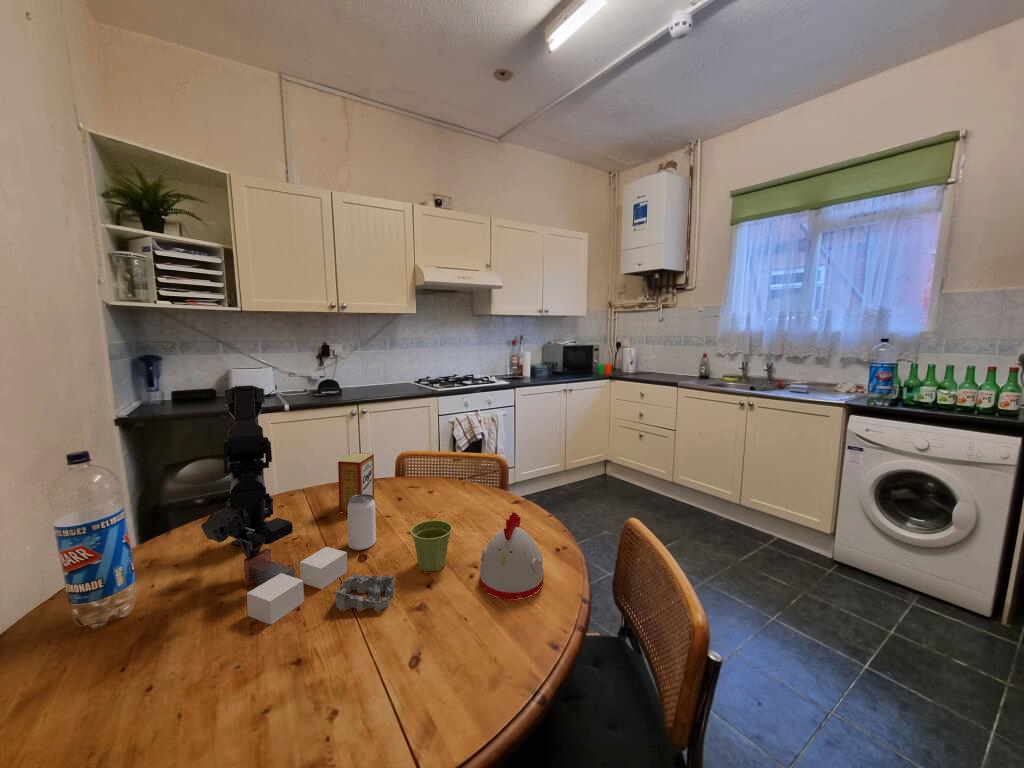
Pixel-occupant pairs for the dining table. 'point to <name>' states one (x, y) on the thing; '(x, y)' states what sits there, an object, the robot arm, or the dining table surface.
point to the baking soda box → (355, 477)
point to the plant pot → (431, 543)
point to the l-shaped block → (263, 568)
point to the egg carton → (363, 585)
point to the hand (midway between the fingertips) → (251, 561)
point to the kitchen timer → (511, 563)
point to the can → (361, 522)
